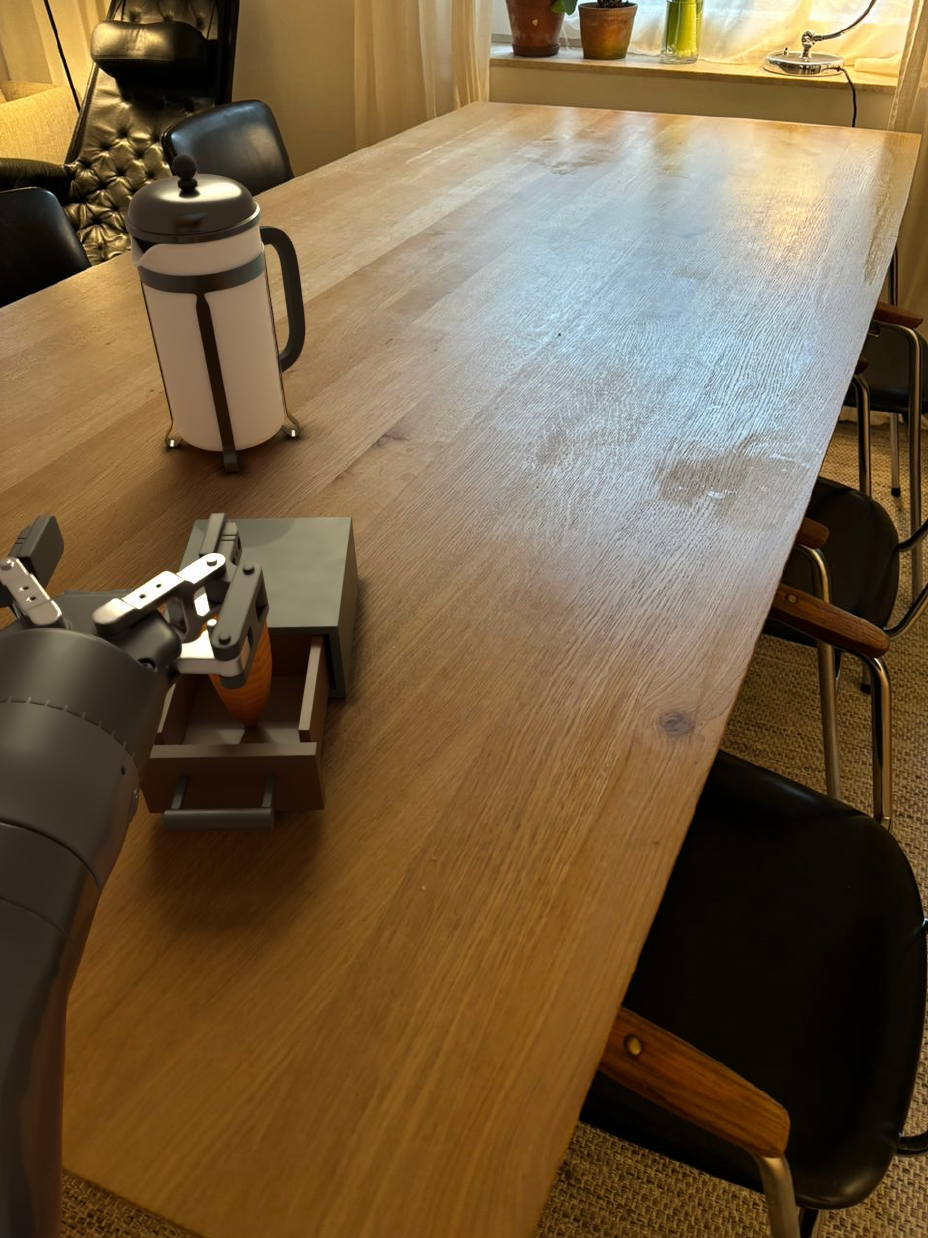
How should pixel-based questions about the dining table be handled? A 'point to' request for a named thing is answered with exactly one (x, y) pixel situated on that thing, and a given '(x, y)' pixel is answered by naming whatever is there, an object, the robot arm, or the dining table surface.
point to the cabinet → (301, 580)
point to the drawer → (242, 747)
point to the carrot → (249, 685)
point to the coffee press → (215, 308)
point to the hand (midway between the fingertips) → (137, 528)
